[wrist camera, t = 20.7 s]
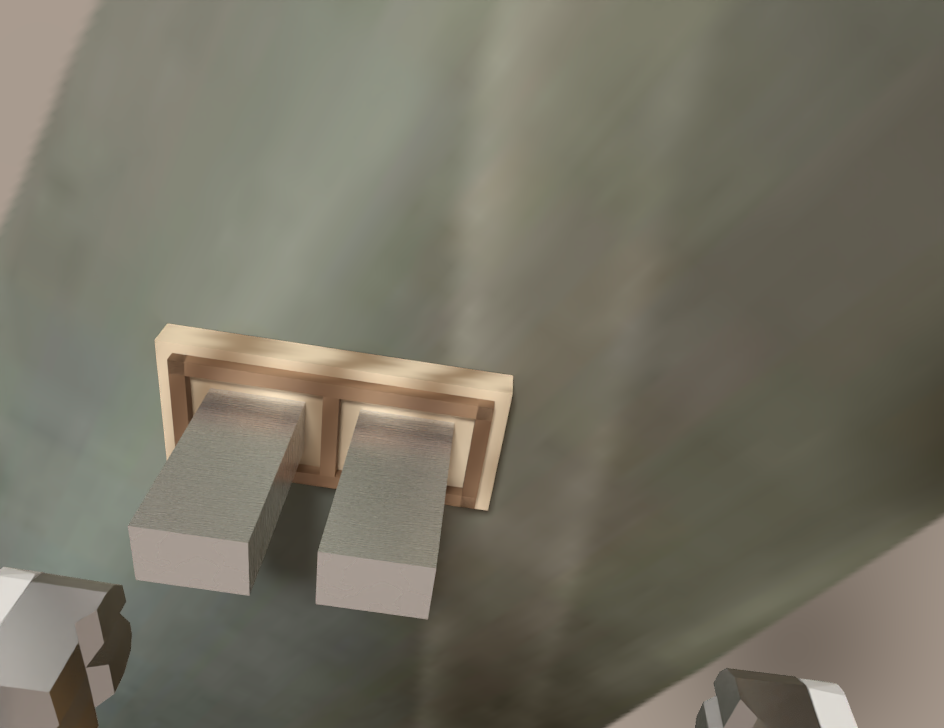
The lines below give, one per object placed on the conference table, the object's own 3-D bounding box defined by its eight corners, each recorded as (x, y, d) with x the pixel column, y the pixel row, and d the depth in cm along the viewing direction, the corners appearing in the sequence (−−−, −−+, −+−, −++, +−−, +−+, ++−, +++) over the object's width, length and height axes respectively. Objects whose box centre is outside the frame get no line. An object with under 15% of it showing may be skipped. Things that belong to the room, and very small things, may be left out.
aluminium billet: (454, 422, 49) (436, 568, 39) (446, 470, 51) (427, 619, 41) (360, 409, 48) (317, 551, 38) (357, 457, 51) (315, 603, 41)
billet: (305, 402, 48) (247, 543, 38) (304, 450, 50) (249, 595, 40) (210, 387, 48) (128, 525, 38) (213, 436, 50) (135, 579, 40)
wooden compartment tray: (513, 375, 49) (512, 401, 46) (488, 490, 54) (487, 519, 52) (167, 323, 48) (149, 347, 46) (178, 445, 54) (162, 472, 51)
